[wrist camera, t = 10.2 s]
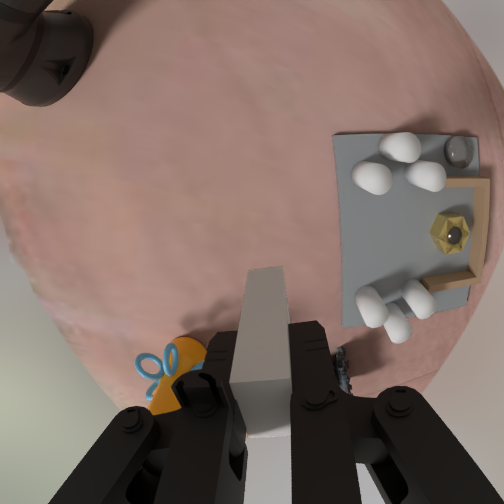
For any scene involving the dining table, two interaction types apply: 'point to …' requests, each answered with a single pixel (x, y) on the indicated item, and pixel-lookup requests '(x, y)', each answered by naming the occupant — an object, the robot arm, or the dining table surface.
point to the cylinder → (171, 371)
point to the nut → (449, 232)
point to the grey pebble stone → (458, 152)
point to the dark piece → (342, 371)
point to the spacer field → (405, 228)
